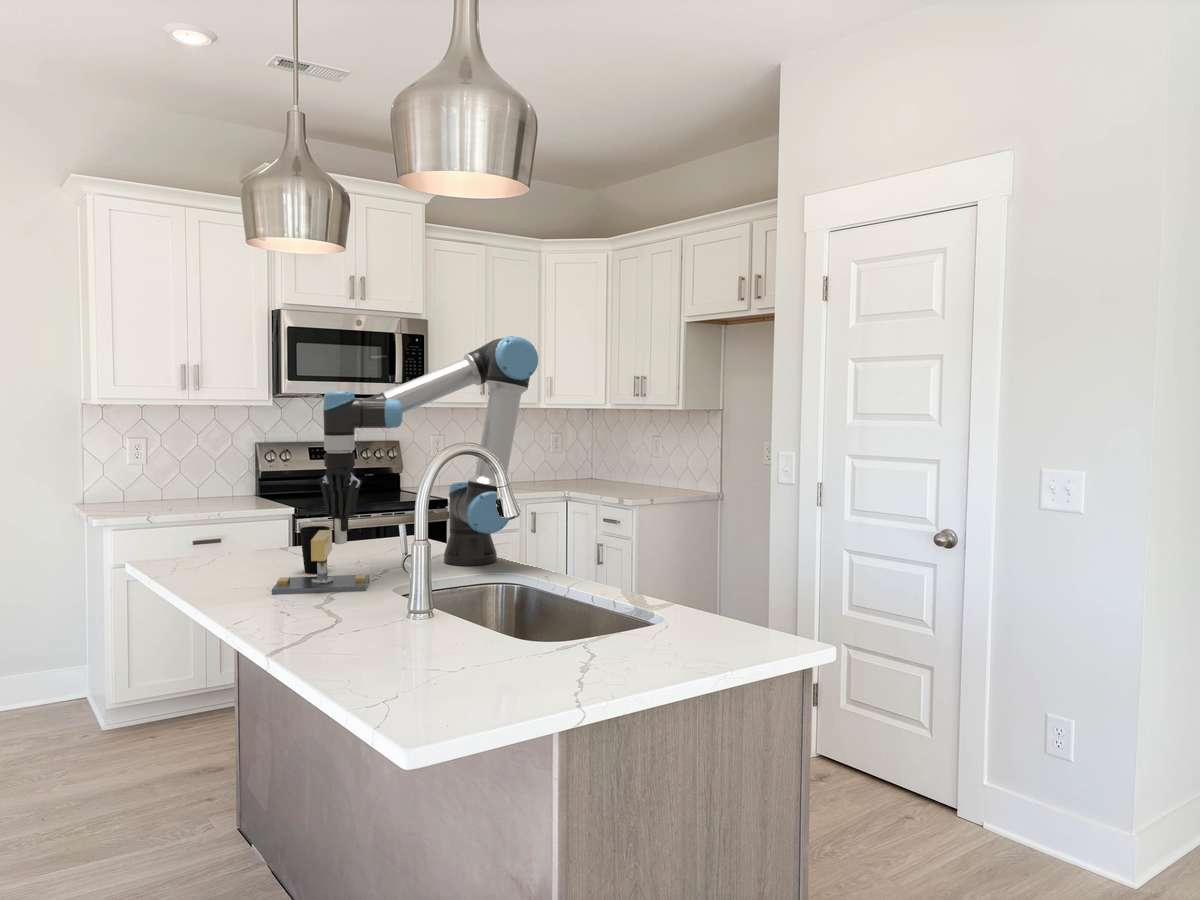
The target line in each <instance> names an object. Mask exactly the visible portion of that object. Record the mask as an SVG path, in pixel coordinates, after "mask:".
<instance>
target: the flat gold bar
mask: <svg viewBox="0 0 1200 900" xmlns="http://www.w3.org/2000/svg"><path fill="white" fill-rule="evenodd" d="M332 550H333V530H332V529H330V530H319V531H318V532H317V534H316V535H315V536H314V537H313V539H312V540H311V561H317V562H326V561H327V562H328V557H329V555H330V554H331V551H332Z"/></svg>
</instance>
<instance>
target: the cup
mask: <svg viewBox="0 0 1200 900" xmlns="http://www.w3.org/2000/svg"><path fill="white" fill-rule="evenodd" d="M319 530H331V527H329V526H326V525H325V526H324V525H314V526H313V525H312V526H310V525H309V526H303V527H300V528H299V532H300V533H299V534H300V543H301V551H302V559H303V568H304V574H307V575H317V563H318V562H317V561H311V540H312V539H313V537H314V536H315V535H316V534H317V532H318V531H319ZM326 562H327V563H328V560H327V561H326Z"/></svg>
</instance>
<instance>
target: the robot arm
mask: <svg viewBox="0 0 1200 900" xmlns="http://www.w3.org/2000/svg"><path fill="white" fill-rule="evenodd" d="M538 364H539V355H538V351H537V349H536V348H535V346H534V345H533V343H532V342H531V341H529V340H528V339H527V338H525V337H521V336H515V335H510V336H506V337H501V338H497V339H493V340H491V341H489V342H487V343H486V344H483V345H482V346H481V347H478V348H476V349H475V350H472V351H471V352H468V353H466V354H464V355H463V359H460V360H458V361H456V362H453V363H451V364H447V365H446V366H443V367H441V368H439V369H435V370H433V371H431V372H428V373H426V374H423V375H422V376H418V377H416V378H414V379H411V380H409V381H407V382H404V383H401V384H399V385H397V386H394V387H392V388H389V389H386V390H385V391H382V392H380V393H377V394H374V395H372V396H370V397H365V398H356V396H355V393H354V392H353V391H349V390H348V391H341V390H340V391H339V390H337V391H335V390H334V391H331V390H330V391H326V392H325V393H324V395H323V408H322V410H323V412H322V413H323V450H324V451H326V452H325V453H324V455H323V456H324V464H323V465H324V467H325V468H326V470H325V474H324V476H323V477H319V478H318V481H317V482H318V483H319V485H320V487H321V492H322V493H321V494H322V499H323V503H324V509H325V513H326V515H327V516H330V517H331V518H332V529H333V530H332V531H334V545H344V544H347V543H348V534H347V533H348V531H349V518H351V517H354V516H355V514H356V509H357V503H358V499H359V492H360V488H361V486H362V485H363V480H362V479H358V478H357V477H356V476H355V472H354V467H355V466H356V453H355V452H353V451H355V449H356V447H355V446H356V443H355V440H356V438H355V437H356V436H355V434H356V433H355V431H356V430H355V429H392V428H394V429H395V428H399V427H401V425H402V422H403V414H404V413H407V412H409V411H411V410H414V409H417V408H419V407H421V406H425V405H426V404H429V403H431V402H434V401H435V400H439V399H441V398H442V397H446V396H447V395H450V394H453V393H456V392H457V391H460V390H463V389H465V388H467V387H469V386H472V385H476V386H481V385H483V384H485V383H486V384H487V385H488V387H489V395H488V401H487V405H486V410H485V411H486V412H485V417H484V422H483V428H482V435H481V438H480V439H481V440H480V444H479V445H481V446H483V447H485V448H487V449H488V450H490V451H491V452H493V453H494V454H495V455H496V456H497V457H498V458H499V460H500V462H501V463H502V465H503V467H504V469H505V471H506V474H507V475H508V471H509V466H510V459H511V453H512V449H513V448H512V447H513V444H514V443H513V442H514V436H515V432H516V426H517V420H518V415H519V414H518V413H519V409H520V403H521V398H522V394H523V393H525V392H526V391H528V390H529V385H530V379H531V377H532V376H533V374H534V373H535V372H536V370H537V368H538V366H539V365H538ZM448 497H449V538H448V541H447V543H446V546H445V550H444V553H443V562H444V563H445V564H447V565H452V566H461V567H462V566H468V567H469V566H482V565H483V566H484V565H489V564H493V563H496V562H497V560H498V559H497V558H498V557H497V556H498V555H497V550H496V547H495V545H494V541H493V538H492V535H491V534H496V533H497V532H500V531H501V530H503V529H504V528H505V527H506V525H507V524H508V523H509V521H510V519H503V518H501V517H500V516H499V514H498V511H497V507H496V500H497V488H496V482H495V478H494V476H493V474H492V472H491V470H490V468H489V466H488V465H487V464H486V463H485V462H484V461H482V460H481V459H480V458H478V457H477V462H476V467H475V472H474V475H472V477H470V478H469V479H468V480H467V481H463V482H454V483H452V484H451V485H450V486H449V493H448Z"/></svg>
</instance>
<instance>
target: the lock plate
mask: <svg viewBox="0 0 1200 900" xmlns="http://www.w3.org/2000/svg"><path fill="white" fill-rule="evenodd" d="M370 578H371V575H370V574H343V575H328V561H327V562H318V563H317V574H316V575H315V576H292V577H291V576H287V577H286V576H285V577H283V576H282V577H279V578H278V580H277V581H276V584H274V586H273V587H272V589H271V595H291V594H293V595H294V594H316V593H317V594H318V593H340V592H341V593H344V592H346V593H348V592H366V591H367V589H368V587H369V582H370Z"/></svg>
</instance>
